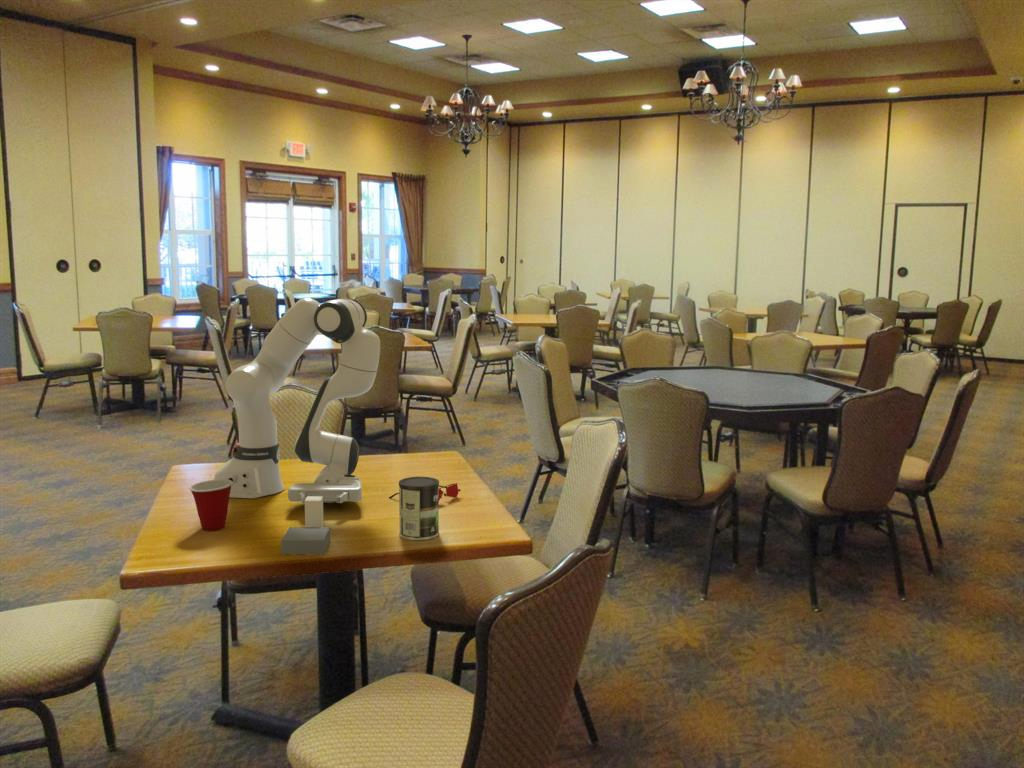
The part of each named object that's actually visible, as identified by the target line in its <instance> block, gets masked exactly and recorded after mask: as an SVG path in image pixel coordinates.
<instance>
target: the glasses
mask: <svg viewBox="0 0 1024 768" xmlns="http://www.w3.org/2000/svg"><path fill="white" fill-rule="evenodd" d="M458 487H459V486H458V483H457V482H456V483H451V484H448V485H446V486H443V485H440V484H439V495H438V496H439V501H440V500H441V499H443V497H442V496H444V497H450V498H455V497H456V498H458V495H459V492H461V490H462V489H461V488H458ZM443 488H445V492H444V491H443V490H442V489H443ZM396 495H399V492H396V493H394V494H391V496H389V497H388V499H393V498H394V497H395V496H396Z"/></svg>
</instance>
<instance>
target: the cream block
mask: <svg viewBox="0 0 1024 768" xmlns="http://www.w3.org/2000/svg"><path fill="white" fill-rule="evenodd" d="M304 527H325V526H324V502H323V496H307V498H306V499H305V503H304Z"/></svg>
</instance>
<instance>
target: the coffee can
mask: <svg viewBox="0 0 1024 768" xmlns="http://www.w3.org/2000/svg"><path fill="white" fill-rule="evenodd" d="M439 485H440V481H439V480H438V479H437V478H435V477H430V476H409V477H405V478H402V479H400V480H399V481H398V486H399V489H398V490H399V492H398V493H399V494H398V496H399V498H398V499H399V508H398V509H399V511H398V512H399V536H401V537H400V538H402V539H404V538H405V540H408V541H426V540H432V539H434V538H437V537H438V536H439V535H440V534H439V533H440V532H439V528H440V527H439V519H440V518H439V510H440V509H439V503H440V500H439V496H438V495H439V488H440V487H439Z"/></svg>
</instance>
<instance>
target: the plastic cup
mask: <svg viewBox="0 0 1024 768" xmlns="http://www.w3.org/2000/svg"><path fill="white" fill-rule="evenodd" d="M232 484H233V481H231V480H226V479H218V480H214V479H211V480H204V481H201V482H197V483H194V484H192V485H190V486H189V487H188V489H189V491H190V492H191V494H192V497H193V499H194V502H195V503H194V504H195V506H196V511H197V517H198V519H199V523H200V527H201V529H202V530H203V531H207V532H216V531H220V530H222V529H225V528H226V524H227V516H228V512H229V503H230V497H229V496H230V490H231V485H232Z"/></svg>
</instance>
